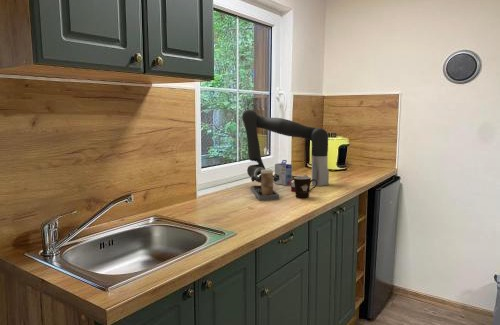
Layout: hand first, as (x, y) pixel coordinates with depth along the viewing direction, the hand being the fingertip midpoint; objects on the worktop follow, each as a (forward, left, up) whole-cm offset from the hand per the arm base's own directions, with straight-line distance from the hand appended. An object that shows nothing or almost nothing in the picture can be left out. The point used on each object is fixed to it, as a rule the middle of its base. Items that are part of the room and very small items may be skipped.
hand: (267, 180), depth 185 cm
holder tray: (0, -9, -9) cm, 13 cm away
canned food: (-21, -14, -10) cm, 27 cm away
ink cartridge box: (-17, -36, -10) cm, 41 cm away
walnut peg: (0, -2, -9) cm, 9 cm away
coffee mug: (-19, +2, -10) cm, 21 cm away
